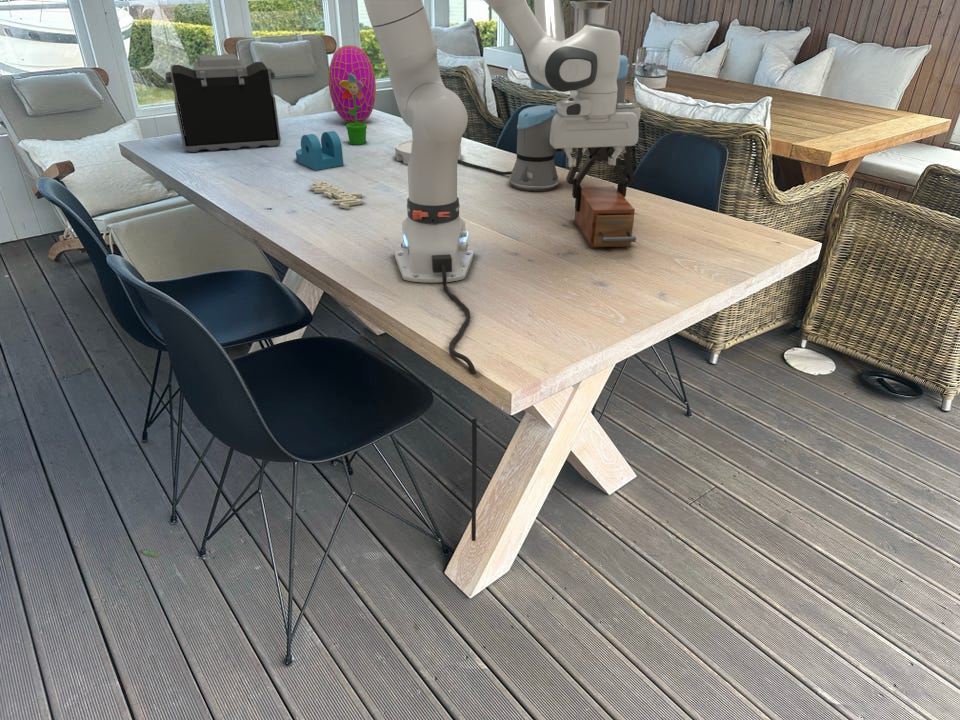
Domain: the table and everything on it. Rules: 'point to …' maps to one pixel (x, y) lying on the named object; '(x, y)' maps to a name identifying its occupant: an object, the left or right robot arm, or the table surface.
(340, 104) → the decorative egg
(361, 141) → the potted flower
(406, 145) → the ashtray
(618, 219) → the drawer
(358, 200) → the decorative sign
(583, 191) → the cabinet
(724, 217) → the table surface
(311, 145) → the camera mount
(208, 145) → the electronic device
